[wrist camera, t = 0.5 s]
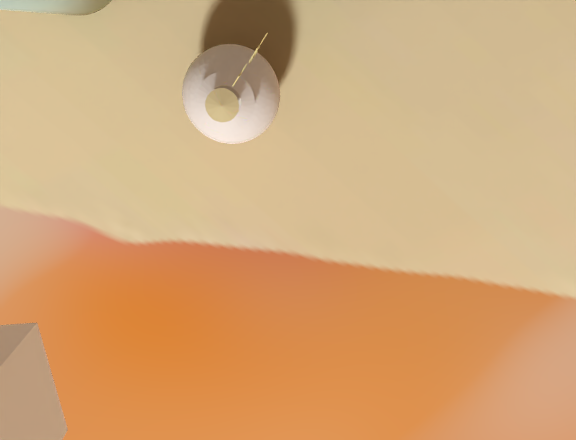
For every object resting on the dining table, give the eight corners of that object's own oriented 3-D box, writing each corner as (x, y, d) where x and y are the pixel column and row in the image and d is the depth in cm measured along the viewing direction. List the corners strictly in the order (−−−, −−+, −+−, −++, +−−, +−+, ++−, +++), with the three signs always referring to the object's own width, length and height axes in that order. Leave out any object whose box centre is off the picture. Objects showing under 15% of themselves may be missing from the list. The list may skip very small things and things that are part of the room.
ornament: (175, 101, 36) (134, 125, 26) (233, 4, 34) (212, -6, 24) (249, 150, 37) (235, 191, 28) (309, 60, 35) (318, 70, 25)
